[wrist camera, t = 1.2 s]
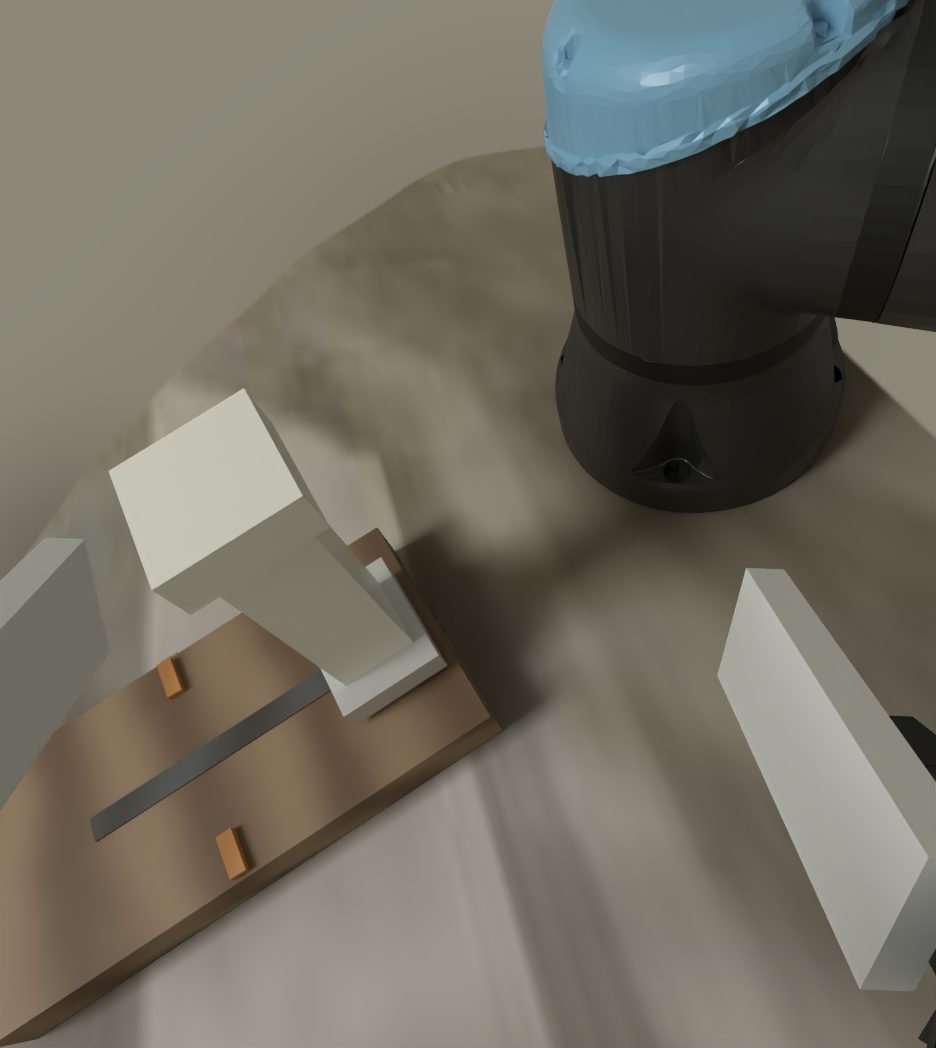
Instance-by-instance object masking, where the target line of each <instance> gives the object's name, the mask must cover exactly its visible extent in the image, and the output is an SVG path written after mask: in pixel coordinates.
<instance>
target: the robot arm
mask: <svg viewBox="0 0 936 1048" xmlns="http://www.w3.org/2000/svg"><path fill="white" fill-rule="evenodd" d="M542 65H543V78H544V91H545V104H546V117H547V118H546V123H545V127H544V137H545V146H546V151H547V154H548V156H549V157H550V158H551V161H552V168H553V174H554V180H555V187H556V193H557V199H558V206H559V212H560V218H561V225H562V231H563V238H564V244H565V250H566V257H567V263H568V269H569V276H570V282H571V288H572V294H573V301H574V308H575V311H574V316H573V320H572V324H571V328H570V332H569V336H568V339H567V341H566V343H565V345H564V347H563V350H562V353H561V356H560V359H559V363H558V367H557V372H556V383H555V392H556V403H557V408H558V413H559V418H560V423H561V427H562V431H563V434H564V437H565V440H566V442H567V444H568V446H569V448H570V450H571V452H572V453H573V455H574V456H575V458H576V459H577V461H578V462H579V463H580V465H581V466H582V467H583V468H584V469H585V470H586V471H587V472H588V473H589V474H590V475H591V476H592V477H593V478H594V479H595V480H597V481H598V482H599V483H600V484H602V485H603V486H605V487H606V488H608V489H609V490H611V491H613V492H614V493H616V494H618V495H620V496H622V497H624V498H626V499H628V500H631V501H633V502H636V503H639V504H642V505H645V506H649V507H653V508H657V509H662V510H668V511H676V512H711V511H719V510H726V509H730V508H735V507H739V506H742V505H746V504H749V503H752V502H755V501H757V500H760V499H762V498H764V497H767V496H769V495H771V494H773V493H775V492H776V491H778V490H780V489H781V488H783V487H785V486H786V485H788V484H789V483H791V482H792V481H793V480H795V479H796V478H797V477H798V476H799V475H801V474H802V473H803V472H804V471H805V470H806V469H807V468H808V467H809V466H810V465H811V464H812V463H813V461H814V460H815V459H816V458H817V456H818V455H819V454H820V452H821V451H822V449H823V448H824V446H825V444H826V443H827V440H828V438H829V436H830V434H831V431H832V429H833V426H834V423H835V420H836V417H837V415H838V412H839V409H840V406H841V402H842V398H843V392H844V383H845V367H844V360H843V355H842V350H841V346H840V343H839V341H838V332H837V326H836V322H835V317H838V318H845V319H853V320H861V321H868V322H873V323H875V322H876V323H880V324H886V325H893V326H900V327H906V328H913V329H920V330H927V331H933V332H936V0H555V1H554V3H553V5H552V8H551V10H550V13H549V16H548V19H547V22H546V26H545V30H544V36H543V43H542ZM109 652H110V649H109V645H108V640H107V636H106V632H105V627H104V623H103V618H102V614H101V610H100V605H99V601H98V596H97V592H96V588H95V583H94V579H93V574H92V570H91V566H90V561H89V557H88V552H87V548H86V544H85V539H65V538H44V539H43V540H42V541H41V542H40V543H39V544H38V545H37V546H36V547H35V548H34V549H33V550H32V551H31V552H30V553H29V554H28V555H27V556H26V557H24V558H23V559H22V560H21V561H20V562H19V563H18V564H17V565H16V566H15V567H14V568H13V569H12V570H11V571H10V572H9V573H8V574H7V575H6V576H5V577H4V578H3V579H2V580H1V581H0V810H1V809H2V808H3V806H4V805H5V803H6V802H7V800H8V799H9V797H10V796H11V794H12V793H13V792H14V790H15V789H16V787H17V786H18V784H19V783H20V781H21V780H22V778H23V777H24V776H25V774H26V773H27V771H28V770H29V768H30V767H31V765H32V764H33V762H34V761H35V760H36V758H37V757H38V755H39V754H40V752H41V751H42V749H43V748H44V746H45V745H46V744H47V742H48V741H49V739H50V738H51V736H52V735H53V733H54V732H55V730H56V729H57V728H58V726H59V725H60V723H61V722H62V720H63V719H64V717H65V716H66V715H67V713H68V712H69V710H70V709H71V707H72V706H73V704H74V703H75V701H76V700H77V699H78V697H79V696H80V694H81V693H82V691H83V690H84V688H85V687H86V685H87V684H88V683H89V681H90V680H91V678H92V677H93V675H94V674H95V672H96V671H97V669H98V668H99V667H100V665H101V664H102V662H103V661H104V659H105V658H106V656H107V655H108V653H109ZM717 676H718V678H719V680H720V682H721V685H722V687H723V689H724V691H725V693H726V696H727V698H728V700H729V702H730V704H731V707H732V709H733V711H734V713H735V715H736V718H737V720H738V722H739V724H740V726H741V729H742V731H743V733H744V735H745V737H746V740H747V742H748V744H749V746H750V748H751V751H752V753H753V755H754V757H755V759H756V762H757V764H758V766H759V768H760V771H761V773H762V775H763V777H764V779H765V782H766V784H767V786H768V788H769V790H770V793H771V795H772V797H773V799H774V801H775V804H776V806H777V808H778V810H779V812H780V815H781V817H782V819H783V821H784V823H785V826H786V828H787V830H788V832H789V834H790V837H791V839H792V841H793V843H794V845H795V848H796V850H797V852H798V854H799V856H800V859H801V861H802V863H803V865H804V867H805V870H806V872H807V874H808V876H809V879H810V881H811V883H812V885H813V887H814V890H815V892H816V894H817V896H818V898H819V901H820V903H821V905H822V907H823V909H824V912H825V914H826V916H827V918H828V920H829V923H830V925H831V927H832V929H833V931H834V934H835V936H836V938H837V940H838V942H839V945H840V947H841V949H842V951H843V953H844V956H845V958H846V960H847V962H848V964H849V967H850V969H851V971H852V973H853V975H854V978H855V980H856V982H857V984H858V987H859V989H860V990H893V991H915V989H916V987H917V986H918V984H919V982H920V981H921V979H922V977H923V975H924V974H925V972H926V970H927V969H928V967H929V965H930V966H931V967H932V969H933V971H934V973H935V975H936V734H934V733H933V732H932V731H930V730H929V729H928V728H927V727H925V726H924V725H923V724H921V723H920V722H919V721H918V720H916V719H915V718H914V717H908V716H888V714H887V713H886V712H885V710H884V709H883V707H882V706H881V705H880V703H879V702H878V700H877V699H876V698H875V696H874V695H873V693H872V692H871V691H870V689H869V688H868V686H867V685H866V684H865V682H864V681H863V679H862V678H861V677H860V675H859V674H858V672H857V671H856V670H855V668H854V667H853V665H852V664H851V663H850V661H849V660H848V658H847V657H846V656H845V654H844V653H843V651H842V650H841V649H840V647H839V646H838V644H837V643H836V642H835V640H834V639H833V637H832V636H831V635H830V633H829V632H828V630H827V629H826V628H825V626H824V625H823V623H822V622H821V621H820V619H819V618H818V616H817V615H816V614H815V612H814V611H813V609H812V608H811V607H810V605H809V604H808V602H807V601H806V600H805V598H804V597H803V595H802V594H801V593H800V591H799V590H798V588H797V587H796V586H795V584H794V583H793V581H792V580H791V579H790V577H789V576H788V574H787V573H786V572H785V570H783V569H760V568H746V571H745V575H744V578H743V582H742V586H741V589H740V593H739V597H738V601H737V604H736V608H735V612H734V616H733V619H732V623H731V627H730V630H729V634H728V638H727V642H726V645H725V649H724V653H723V657H722V660H721V664H720V668H719V671H718V675H717ZM918 1039H920V1040H921V1041H923V1042H924V1043H926V1044H927V1043H928V1044H927V1048H936V1010H935V1012H934V1013H933V1015H932V1017H931V1018H930V1020H929V1021H928V1023H927V1025H926V1026H925V1028H924V1029H923V1031H922V1033H921V1034H920V1036H919V1038H918Z"/></svg>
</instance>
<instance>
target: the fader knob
mask: <svg viewBox="0 0 936 1048" xmlns="http://www.w3.org/2000/svg"><path fill="white" fill-rule="evenodd" d="M109 473H110V476H111V479H112V482H113V484H114V487H115V490H116V493H117V495H118V498H119V501H120V504H121V506H122V509H123V512H124V515H125V517H126V520H127V523H128V526H129V529H130V531H131V534H132V537H133V540H134V542H135V545H136V548H137V551H138V553H139V556H140V559H141V562H142V564H143V567H144V570H145V573H146V575H147V578H148V581H149V584H150V587H151V589H152V591H154V592H155V593H157V594H159V595H160V596H162V597H163V598H165V599H167V600H168V601H170V602H171V603H173V604H175V605H176V606H178V607H179V608H181V609H183V610H184V611H186V612H187V613H189V614H190V615H191V614H193V613H194V612H196V611H198V610H199V609H201V608H202V607H204V606H206V605H207V604H209V603H210V602H212V601H214V600H215V599H217V598H218V597H221V598H222V599H224V600H225V601H227V602H228V603H229V604H231V605H232V606H234V607H235V608H236V609H238V610H239V611H241V612H242V613H244V614H245V615H246V616H248V617H249V618H251V619H252V620H253V621H255V622H256V623H258V624H259V625H261V626H262V627H263V628H265V629H266V630H268V631H269V632H270V633H272V634H273V635H275V636H276V637H277V638H279V639H280V640H282V641H283V642H285V643H286V644H287V645H289V646H290V647H292V648H293V649H294V650H296V651H297V652H299V653H300V654H301V655H303V656H304V657H306V658H307V659H309V660H310V661H311V662H313V663H314V664H316V665H317V666H318V667H320V669H321V671H322V673H323V675H324V677H325V679H326V681H327V683H328V685H329V687H330V690H331V692H332V694H333V696H334V698H335V700H336V702H337V704H338V706H339V708H340V710H341V712H342V715H343V717H345V718H346V719H348V720H349V721H351V722H353V723H354V724H356V725H357V724H359V723H360V722H362V721H363V720H365V719H366V718H368V717H369V716H371V715H372V714H374V713H375V712H377V711H379V710H380V709H382V708H383V707H385V706H386V705H388V704H389V703H391V702H392V701H394V700H395V699H397V698H398V697H400V696H402V695H403V694H405V693H406V692H408V691H409V690H411V689H412V688H414V687H415V686H417V685H418V684H420V683H422V682H423V681H425V680H426V679H428V678H429V677H431V676H432V675H434V674H435V673H437V672H438V671H440V670H441V669H443V668H445V667H446V666H448V665H447V664H446V662H445V660H444V658H443V657H442V655H441V653H440V652H439V650H438V648H437V647H436V645H435V643H434V642H433V640H432V638H431V636H430V635H429V633H428V631H427V630H426V628H425V626H424V625H423V623H422V621H421V619H420V618H419V616H418V614H417V613H416V611H415V609H414V608H413V606H412V604H411V602H410V601H409V599H408V597H407V596H406V594H405V592H404V591H403V589H402V587H401V586H400V584H399V582H398V580H397V579H396V577H395V575H394V574H393V572H392V570H391V569H390V568H389V566H388V565H387V564H386V563H385V561H384V560H383V559H382V558H381V557H380V558H379V559H377V560H375V561H374V562H372V563H371V564H369V565H368V566H366V567H365V566H364V565H363V564H362V563H361V561H360V560H359V559H358V558H357V557H356V556H355V554H354V553H353V552H352V551H351V550H350V549H349V548H348V546H347V545H346V544H345V543H344V542H343V541H342V539H341V538H340V537H339V536H338V535H337V534H336V532H335V531H334V530H333V529H332V528H331V527H330V526H329V524H328V523H327V521H326V519H325V517H324V516H323V514H322V512H321V510H320V508H319V507H318V505H317V503H316V501H315V499H314V498H313V496H312V494H311V492H310V490H309V489H308V487H307V485H306V483H305V481H304V480H303V478H302V476H301V474H300V472H299V470H298V469H297V467H296V465H295V463H294V461H293V460H292V458H291V456H290V454H289V452H288V451H287V449H286V447H285V445H284V443H283V442H282V440H281V438H280V436H279V434H278V433H277V431H276V429H275V427H274V425H273V424H272V422H271V421H270V420H269V419H268V417H267V416H266V415H265V414H264V412H263V411H262V410H261V409H260V407H259V406H258V405H257V404H256V402H255V401H254V400H253V399H252V397H251V396H250V395H249V394H248V392H247V391H246V390H245V389H242V390H240V391H239V392H237V393H235V394H234V395H232V396H230V397H229V398H227V399H226V400H224V401H222V402H221V403H219V404H217V405H216V406H214V407H213V408H211V409H209V410H208V411H206V412H204V413H203V414H201V415H199V416H198V417H196V418H195V419H193V420H191V421H190V422H188V423H186V424H185V425H183V426H181V427H180V428H178V429H177V430H175V431H173V432H172V433H170V434H168V435H167V436H165V437H164V438H162V439H160V440H159V441H157V442H155V443H154V444H152V445H150V446H149V447H147V448H146V449H144V450H142V451H141V452H139V453H137V454H136V455H134V456H132V457H131V458H129V459H128V460H126V461H124V462H123V463H121V464H119V465H118V466H116V467H115V468H113V469H111V470H110V471H109Z"/></svg>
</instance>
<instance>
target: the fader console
mask: <svg viewBox="0 0 936 1048" xmlns="http://www.w3.org/2000/svg"><path fill="white" fill-rule="evenodd" d="M348 548H349V549H350V550H351V551H352V552H353V553H354V554H355V556H356V557H357V558H358V559H359V560H360V561H361V563H362V564H363V565H364V566H365V567H366V566H368V565H369V564H371V563H372V562H374V561H375V560H377V559H379V558H380V557H381V558H382V559H383V560H384V561H385V563H386V564H387V565H388V566H389V568H390V569H391V570H392V572H393V574H394V575H395V577H396V579H397V580H398V582H399V584H400V586H401V587H402V589H403V591H404V592H405V594H406V596H407V597H408V599H409V601H410V602H411V604H412V606H413V608H414V609H415V611H416V613H417V614H418V616H419V618H420V619H421V621H422V623H423V625H424V626H425V628H426V630H427V631H428V633H429V635H430V636H431V638H432V640H433V642H434V643H435V645H436V647H437V648H438V650H439V652H440V653H441V655H442V657H443V658H444V660H445V662H446V664H447V665H448V666H446V667H445V668H443V669H441V670H440V671H438V672H437V673H435V674H434V675H432V676H431V677H429V678H428V679H426V680H425V681H423V682H422V683H420V684H418V685H417V686H415V687H414V688H412V689H411V690H409V691H408V692H406V693H405V694H403V695H402V696H400V697H398V698H397V699H395V700H394V701H392V702H391V703H389V704H388V705H386V706H385V707H383V708H382V709H380V710H379V711H377V712H375V713H374V714H372V715H371V716H369V717H368V718H366V719H365V720H363V721H362V722H360V723H359V724H357V725H356V724H354V723H353V722H351V721H349V720H348V719H346V718H345V717H343V715H342V712H341V710H340V708H339V706H338V704H337V702H336V700H335V698H334V696H333V694H332V692H331V690H330V687H329V685H328V683H327V681H326V679H325V677H324V675H323V673H322V671H321V669H320V667H318V666H317V665H316V664H314V663H313V662H311V661H310V660H309V659H307V658H306V657H304V656H303V655H301V654H300V653H299V652H297V651H296V650H294V649H293V648H292V647H290V646H289V645H287V644H286V643H285V642H283V641H282V640H280V639H279V638H277V637H276V636H275V635H273V634H272V633H270V632H269V631H268V630H266V629H265V628H263V627H262V626H261V625H259V624H258V623H256V622H255V621H253V620H252V619H251V618H249V617H248V616H246V615H245V614H244V613H241V614H240V615H238V616H236V617H235V618H233V619H232V620H230V621H228V622H227V623H225V624H224V625H222V626H221V627H219V628H217V629H216V630H214V631H213V632H211V633H210V634H208V635H206V636H205V637H203V638H202V639H200V640H198V641H197V642H195V643H194V644H192V645H191V646H189V647H187V648H186V649H184V650H183V651H181V652H180V653H175V654H173V655H172V656H170V657H169V658H167V659H166V660H164V661H162V662H161V663H160V664H159V665H157V667H156V668H154V669H153V670H151V671H150V672H148V673H146V674H145V675H143V676H142V677H140V678H138V679H137V680H135V681H134V682H132V683H131V684H129V685H127V686H126V687H124V688H123V689H121V690H120V691H118V692H116V693H115V694H113V695H112V696H110V697H109V698H107V699H105V700H104V701H102V702H101V703H99V704H97V705H96V706H94V707H93V708H91V709H90V710H88V711H86V712H85V713H83V714H82V715H80V716H79V717H77V718H75V719H74V720H72V721H71V722H69V723H67V724H66V725H64V726H63V727H61V728H60V729H58V730H56V731H55V732H54V733H53V735H52V736H51V738H50V739H49V741H48V742H47V744H46V745H45V746H44V748H43V749H42V751H41V752H40V754H39V755H38V757H37V758H36V760H35V761H34V762H33V764H32V765H31V767H30V768H29V770H28V771H27V773H26V774H25V776H24V777H23V778H22V780H21V781H20V783H19V784H18V786H17V787H16V789H15V790H14V792H13V793H12V794H11V796H10V797H9V799H8V800H7V802H6V803H5V805H4V806H3V808H2V809H1V810H0V1047H2V1046H6V1045H11V1044H16V1043H21V1042H26V1041H31V1040H35V1039H37V1038H39V1037H40V1036H42V1035H43V1034H45V1033H46V1032H48V1031H49V1030H51V1029H52V1028H54V1027H55V1026H57V1025H58V1024H60V1023H61V1022H63V1021H64V1020H66V1019H67V1018H69V1017H70V1016H72V1015H73V1014H75V1013H76V1012H78V1011H80V1010H81V1009H83V1008H84V1007H86V1006H87V1005H89V1004H90V1003H92V1002H93V1001H95V1000H96V999H98V998H99V997H101V996H102V995H104V994H105V993H107V992H108V991H110V990H111V989H113V988H114V987H116V986H117V985H119V984H120V983H122V982H123V981H125V980H126V979H128V978H129V977H131V976H132V975H134V974H135V973H137V972H139V971H140V970H142V969H143V968H145V967H146V966H148V965H149V964H151V963H152V962H154V961H155V960H157V959H158V958H160V957H161V956H163V955H164V954H166V953H167V952H169V951H170V950H172V949H173V948H175V947H176V946H178V945H179V944H181V943H182V942H184V941H185V940H187V939H188V938H190V937H191V936H193V935H194V934H196V933H198V932H199V931H201V930H202V929H204V928H205V927H207V926H208V925H210V924H211V923H213V922H214V921H216V920H217V919H219V918H220V917H222V916H223V915H225V914H226V913H228V912H229V911H231V910H232V909H234V908H235V907H237V906H238V905H240V904H241V903H243V902H244V901H246V900H247V899H249V898H250V897H252V896H253V895H255V894H257V893H258V892H260V891H261V890H263V889H264V888H266V887H267V886H269V885H270V884H272V883H273V882H275V881H276V880H278V879H279V878H281V877H282V876H284V875H285V874H287V873H288V872H290V871H291V870H293V869H294V868H296V867H297V866H299V865H300V864H302V863H303V862H305V861H306V860H308V859H309V858H311V857H312V856H314V855H316V854H317V853H319V852H320V851H322V850H323V849H325V848H326V847H328V846H329V845H331V844H332V843H334V842H335V841H337V840H338V839H340V838H341V837H343V836H344V835H346V834H347V833H349V832H350V831H352V830H353V829H355V828H356V827H358V826H359V825H361V824H362V823H364V822H365V821H367V820H368V819H370V818H371V817H373V816H374V815H376V814H378V813H379V812H381V811H382V810H384V809H385V808H387V807H388V806H390V805H391V804H393V803H394V802H396V801H397V800H399V799H400V798H402V797H403V796H405V795H406V794H408V793H409V792H411V791H412V790H414V789H415V788H417V787H418V786H420V785H421V784H423V783H424V782H426V781H427V780H429V779H430V778H432V777H433V776H435V775H437V774H438V773H440V772H441V771H443V770H444V769H446V768H447V767H449V766H450V765H452V764H453V763H455V762H456V761H458V760H459V759H461V758H462V757H464V756H465V755H467V754H468V753H470V752H471V751H473V750H474V749H476V748H477V747H479V746H480V745H482V744H483V743H485V742H486V741H488V740H489V739H491V738H492V737H494V736H496V735H497V734H499V733H500V732H502V731H503V730H502V728H501V727H500V725H499V723H498V722H497V720H496V718H495V717H494V715H493V713H492V712H491V710H490V708H489V707H488V705H487V703H486V702H485V700H484V698H483V697H482V695H481V693H480V692H479V690H478V688H477V687H476V685H475V683H474V682H473V680H472V678H471V677H470V675H469V673H468V672H467V670H466V669H465V667H464V665H463V664H462V662H461V660H460V659H459V657H458V655H457V654H456V652H455V650H454V649H453V647H452V645H451V644H450V642H449V640H448V639H447V637H446V635H445V634H444V632H443V630H442V629H441V627H440V625H439V624H438V622H437V620H436V619H435V617H434V615H433V614H432V612H431V610H430V609H429V607H428V605H427V604H426V602H425V601H424V599H423V597H422V596H421V594H420V592H419V591H418V589H417V587H416V586H415V584H414V582H413V581H412V579H411V577H410V576H409V574H408V572H407V571H406V569H405V567H404V566H403V564H402V562H401V561H400V559H399V557H398V556H397V554H396V552H395V551H394V549H393V548H392V547H391V545H390V544H389V543H388V541H387V540H386V539H385V537H384V536H383V535H382V533H381V532H380V531H379V529H378V528H375V529H374V530H372V531H371V532H369V533H367V534H366V535H364V536H363V537H361V538H359V539H358V540H356V541H355V542H353V543H352V544H350V545H348Z"/></svg>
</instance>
